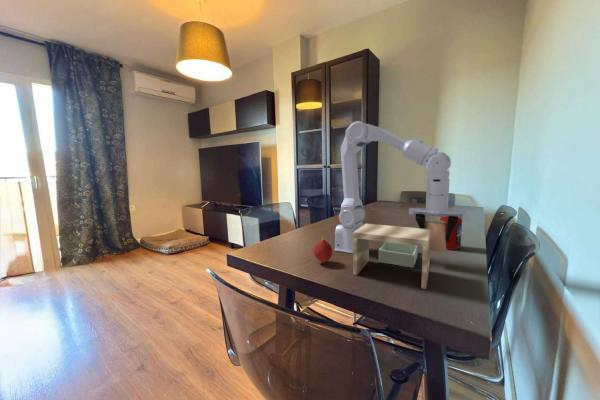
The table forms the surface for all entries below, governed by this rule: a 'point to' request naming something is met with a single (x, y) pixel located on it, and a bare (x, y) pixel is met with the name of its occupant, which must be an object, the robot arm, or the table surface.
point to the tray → (398, 254)
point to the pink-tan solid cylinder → (437, 234)
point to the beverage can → (454, 234)
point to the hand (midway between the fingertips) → (435, 240)
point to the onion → (323, 251)
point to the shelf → (395, 236)
